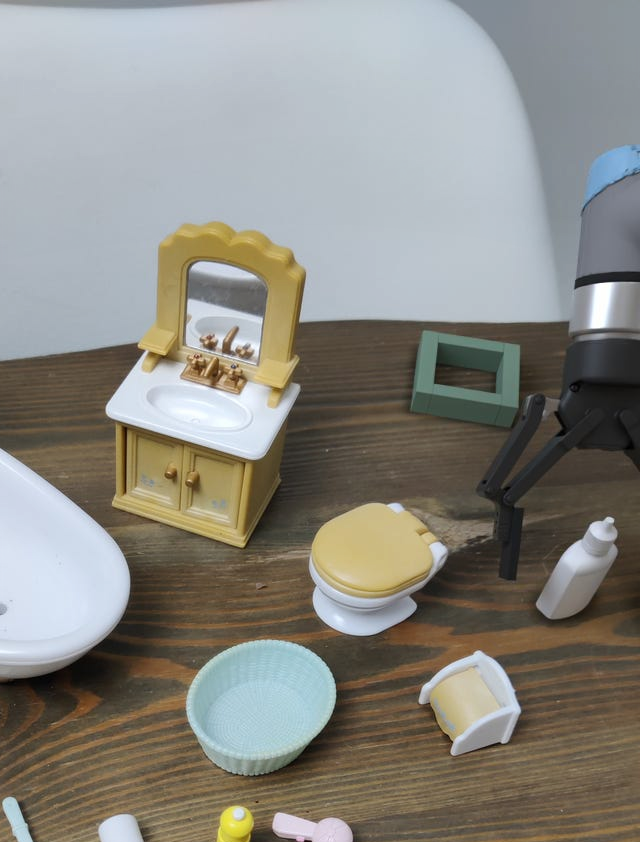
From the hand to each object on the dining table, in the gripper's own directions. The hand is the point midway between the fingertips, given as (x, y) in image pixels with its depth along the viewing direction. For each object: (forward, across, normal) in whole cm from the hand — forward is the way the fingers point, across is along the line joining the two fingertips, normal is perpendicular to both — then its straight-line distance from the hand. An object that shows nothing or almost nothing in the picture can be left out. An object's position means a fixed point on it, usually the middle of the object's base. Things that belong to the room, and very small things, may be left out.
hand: (581, 584), depth 89 cm
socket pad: (-19, +6, -26) cm, 33 cm away
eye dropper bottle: (+3, 0, -5) cm, 6 cm away
